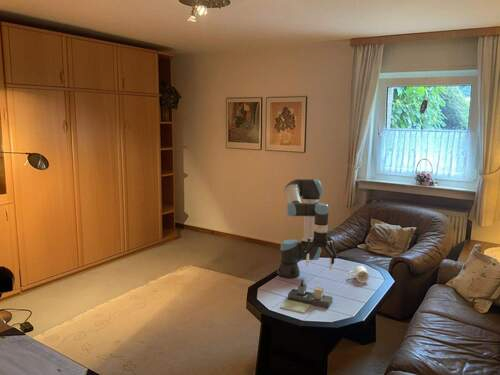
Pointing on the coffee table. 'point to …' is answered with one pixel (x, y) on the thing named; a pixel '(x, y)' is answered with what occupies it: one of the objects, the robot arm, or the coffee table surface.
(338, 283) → the coffee table surface
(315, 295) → the plug
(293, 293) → the panel
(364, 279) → the mug
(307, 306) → the tray
